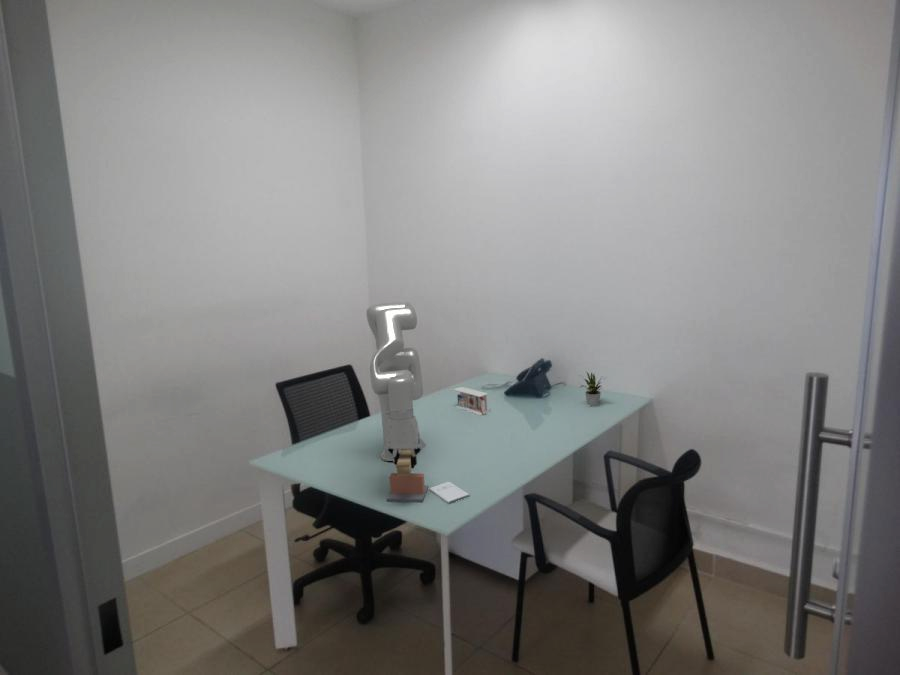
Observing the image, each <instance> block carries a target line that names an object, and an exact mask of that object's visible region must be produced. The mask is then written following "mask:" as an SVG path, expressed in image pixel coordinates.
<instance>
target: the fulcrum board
mask: <svg viewBox="0 0 900 675" xmlns="http://www.w3.org/2000/svg"><path fill="white" fill-rule="evenodd" d="M389 486H390V492H389V494H388V495H387V497H386V502H392V501H404V502H405V503H424V499H425V498H426V495H427V493H428V491H429V489H428V488H429V487H430V486H429V485H425V474H424V473H420V472H419V473H412V472H411V474H410V476H406V477H397V472H391V474H390V475H389ZM404 502H403V503H404Z"/></svg>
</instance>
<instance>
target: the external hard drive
mask: <svg viewBox="0 0 900 675" xmlns="http://www.w3.org/2000/svg"><path fill="white" fill-rule="evenodd" d="M428 491H429V492H431V493H432V495H434V496H436V497H437V496H438V497H437V498H439V499H440V500H442V501H443V502H444V503H446V504H447V505H452V504H454V503H456V501H457V502H459V501H458V500H460V501H462V500H461V499H463V500H465V499H464V498H466V499H468V498H467V497H469V498H471V497H470V496H471V495H470V494H469V493H468V492H466V491H464V490H463V489H461V488H460V487H458V486H457V485H455V484H453V483H452V482H450V481H446V482H443V483H441V484H437V485H435V486H431V487H430V488H429V489H428Z"/></svg>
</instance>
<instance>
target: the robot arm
mask: <svg viewBox="0 0 900 675" xmlns="http://www.w3.org/2000/svg"><path fill="white" fill-rule="evenodd" d="M366 318H367V320H366V321H367V324H368V326H369V329H370V331H371V332H372V335H373V336H374V339H375V340H374V341H375V345H376V347H375V349H376V350H375V353H374V354H373V355H372V358H371V360H370V365H369V374H370V383H371V388H372V391H373V393H374V394H376V395H377V397H378V400H379V401H378V402H379V406H380V407H379V408H380V415H381V425H382V426H381V428H382V436H383V437H382V438H383V446H382V447H383V451H381V454H380V458H382V459H383V460H382V459H381V460H382V461H384V460H386V461H385V462H387V461H393V462H392V463H394V465H395V468H396V469H397V462H398V459H399V455H400V452H401V449H410V451H411V454H412V456H411V468H412V469H414V468H415V467H416V466H417V464H418V461H417V455H418V454H419V453H420V452H421V451H422V450H424V449H425V448H426V446H427V444H426V443H425V442H424V440H423V439H422V438H421V437H420V430H419V425H418V420H417V417H416V416H415V415H414V405H413V404H414V402H413V401H416V400H420V399H421V398H422V397H423V394H424V387H423V379H422V369H421V361H420V355H419V352H418V351H417V349H415V348H413V347H405V341H404V337H403V331H411V330H414V329H416V327H417V324H418V319H417V318H418V317H417V313H416V310H415V308H414V306H412V304H411V303H410V302H408V301H402V302H389V303H377V304H373V305H371V306H369V307H368V308H367V309H366Z"/></svg>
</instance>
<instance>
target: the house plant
mask: <svg viewBox="0 0 900 675" xmlns="http://www.w3.org/2000/svg"><path fill="white" fill-rule="evenodd" d="M585 373H586V375H587V378H588V380H587V379H586V378H584V377H583V375H580V374H579V377H581V376H582V377H581V378H582V379H584V381H585V383H586V385H587V386H586V385H585V388H586V391H585V398H586V404H588V405H590V406H589V407H591V406H596V407H598V406H597V405H600V398H601V395H602V394H601V391H600V390H601V389H602V385H600V384H601V381H602V380H601V379H602V378H603V375H602V376H600V379H599V380H598V382H597V384H596V380H597V378H596V375H595V373H596V372H594V373H593V372H592V371H591V372H590V374H589V373H588V372H587V371H585ZM606 378H608V377H604V378H603V380H605V379H606ZM577 384H579V383H577ZM583 387H584V385H583V384H582V383H580V386H579V388H583ZM588 405H587V406H588Z"/></svg>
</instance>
